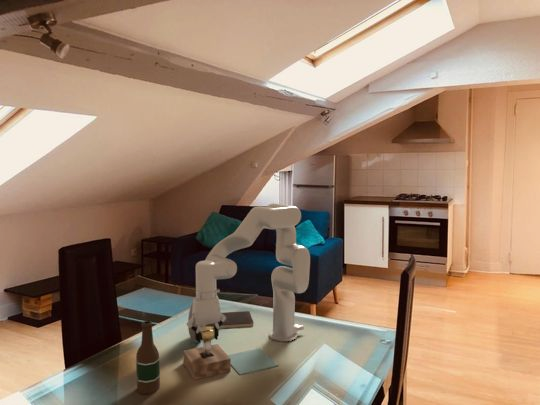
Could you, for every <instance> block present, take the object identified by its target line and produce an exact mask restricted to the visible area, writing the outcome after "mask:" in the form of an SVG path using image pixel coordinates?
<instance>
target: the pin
mask: <svg viewBox="0 0 540 405" xmlns="http://www.w3.org/2000/svg"><path fill="white" fill-rule="evenodd" d="M200 333H201V341H202V347H203V358H207V357H211V345H212V340H214V339H215V328H213V327H202V328H200Z"/></svg>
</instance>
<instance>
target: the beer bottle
mask: <svg viewBox="0 0 540 405" xmlns="http://www.w3.org/2000/svg"><path fill="white" fill-rule="evenodd" d="M153 325H154V324H153V322H152V321H151V320H144V321H143V322H141V328H142V329H141V342H140V346H139V348H138V349H137V350H136V351H137V352H136V355H135V356H136V359H135V361H136V362H135V365H136V368H135V370H136V371H135V372H136V390H137V391H138V393H139V394H141V395H144V396H145V395H146V396H147V395H150V394H155V393H156V392H158V390H160V384H161V377H160V376H161V375H160V374H161V373H160V367H161V366H160V353H159V350H158V348H157V346H156V345H155V343H154V336H153V335H154V334H153Z"/></svg>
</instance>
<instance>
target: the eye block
mask: <svg viewBox="0 0 540 405" xmlns="http://www.w3.org/2000/svg"><path fill="white" fill-rule="evenodd" d="M228 355H229V354H227V353H226V352H225V350H224V349H223V348H222V347H221V346H220V345H219V343H216V344H211V357H207V358H203V346H200V347H195V348H191V349H190V348H189V349H186V350H183V355H182V356H183V365H184V366H185V368H186V369H187V371H188V372H189V374H190V376H191V377H192V379H193V380H194V381H195V380H200V379H204V378H208V377H212V376H217V375H221V374H226V373H230V372H231V367H232V366H231V359H230V357H229V356H228Z"/></svg>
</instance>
